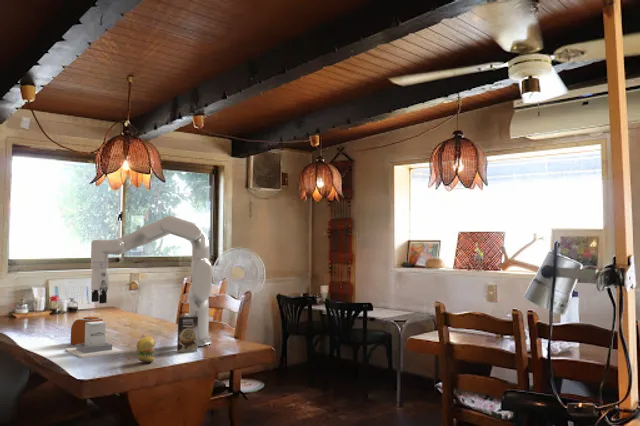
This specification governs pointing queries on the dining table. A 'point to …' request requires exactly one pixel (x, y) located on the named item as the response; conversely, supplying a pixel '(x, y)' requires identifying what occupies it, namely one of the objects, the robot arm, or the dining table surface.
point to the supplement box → (95, 333)
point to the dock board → (93, 350)
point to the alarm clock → (81, 329)
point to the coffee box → (187, 333)
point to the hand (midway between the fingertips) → (98, 302)
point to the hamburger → (145, 349)
